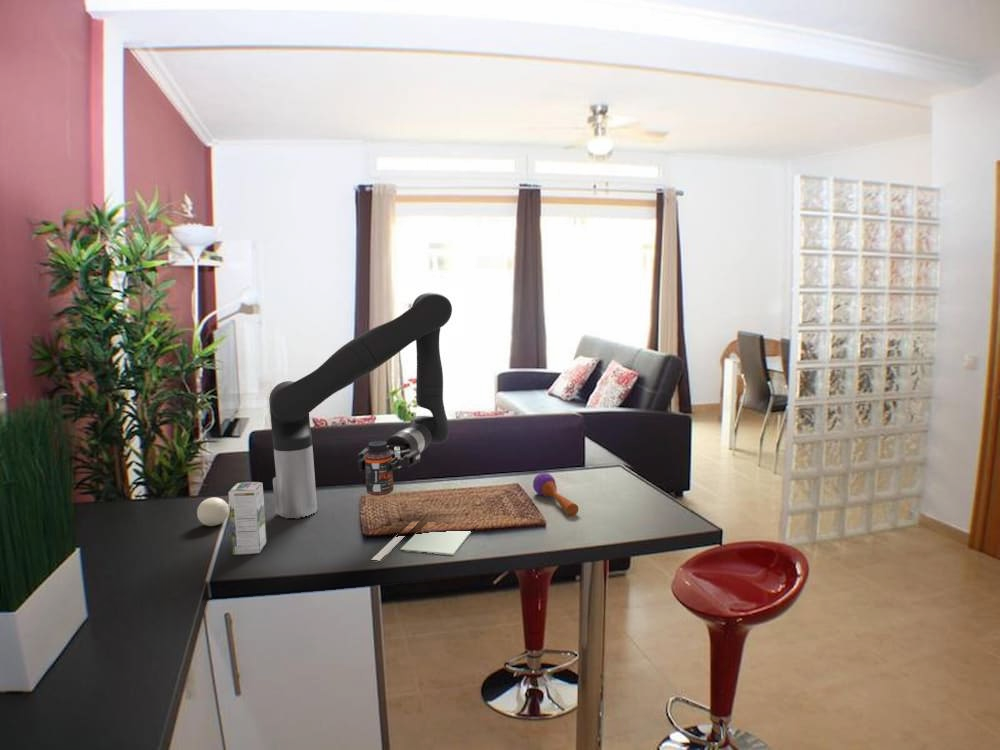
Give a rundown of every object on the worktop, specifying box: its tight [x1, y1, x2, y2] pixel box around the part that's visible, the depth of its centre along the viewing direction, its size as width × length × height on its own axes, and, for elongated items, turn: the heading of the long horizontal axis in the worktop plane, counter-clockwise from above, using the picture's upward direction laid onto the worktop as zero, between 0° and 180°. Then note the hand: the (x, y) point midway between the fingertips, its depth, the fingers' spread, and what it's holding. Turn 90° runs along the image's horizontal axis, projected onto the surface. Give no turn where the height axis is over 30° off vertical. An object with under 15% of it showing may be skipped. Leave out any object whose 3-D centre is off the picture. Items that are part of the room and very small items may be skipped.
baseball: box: [196, 496, 230, 527], centre depth 159 cm, size 7×7×7 cm
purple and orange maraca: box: [532, 472, 579, 517], centre depth 168 cm, size 6×6×20 cm
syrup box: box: [228, 481, 268, 556], centre depth 143 cm, size 6×6×14 cm
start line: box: [371, 535, 406, 562], centre depth 147 cm, size 2×22×1 cm, turn 165°
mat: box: [400, 531, 472, 556], centre depth 147 cm, size 12×16×1 cm
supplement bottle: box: [364, 440, 394, 497], centre depth 145 cm, size 6×6×11 cm
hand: (374, 467), depth 143 cm, fingers closed on supplement bottle, 6 cm apart
